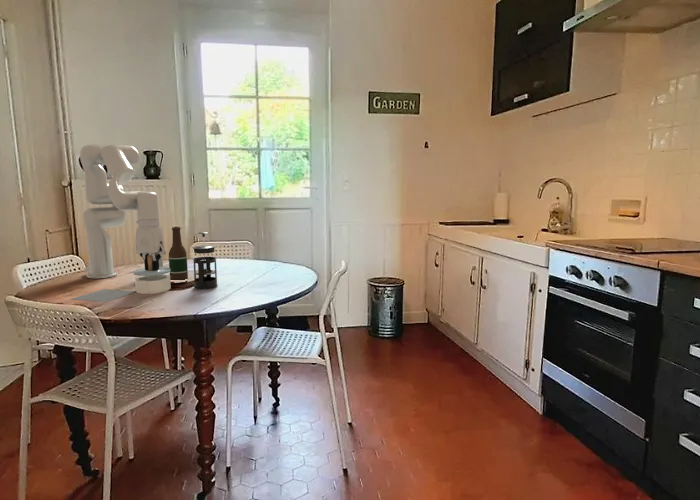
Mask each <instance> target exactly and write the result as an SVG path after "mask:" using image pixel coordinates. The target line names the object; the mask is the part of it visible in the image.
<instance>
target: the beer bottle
mask: <svg viewBox="0 0 700 500" xmlns="http://www.w3.org/2000/svg"><path fill="white" fill-rule="evenodd" d="M171 230H172V243H171V247H170V249H169V252H168V266H169V267H168V268H170V269H171V271H170V272H169V277H170V280H185V279H188V280H189V271H188V268H189V267H188V256H187V251H186V250H187V249H186V248H185V246H183V243H182V235H181V234H182V233H181V227H180V226H172V228H171Z"/></svg>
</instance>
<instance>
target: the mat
mask: <svg viewBox="0 0 700 500" xmlns="http://www.w3.org/2000/svg"><path fill="white" fill-rule="evenodd" d="M135 293H137V292H136V290H123V289H122V290H120V289H109V288H103V289H100V290H97V291H93V292H89V293H85V294H83V295H79V296H77V297H74V298H73V297H72V298H71V300H78V301H89V302H98V303H99V302H100V303H109V302H112V301H114V300H117V299H121V298H122V297H123V298H124V297H126V296H129V295H132V294H135Z"/></svg>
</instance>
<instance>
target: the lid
mask: <svg viewBox="0 0 700 500" xmlns="http://www.w3.org/2000/svg"><path fill="white" fill-rule="evenodd" d="M147 260H148V270H145V267H144V268H143V267H142V268H138V269H135V270H133V271H132V272H133V275H135V276H139V277H141V276H152V275H161V274H164V275H167V274H170V271H171V269H170V268H169V267H166V266H163V267H159V270H156V271H153V270H152V261H153V256H152V255H147Z"/></svg>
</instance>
